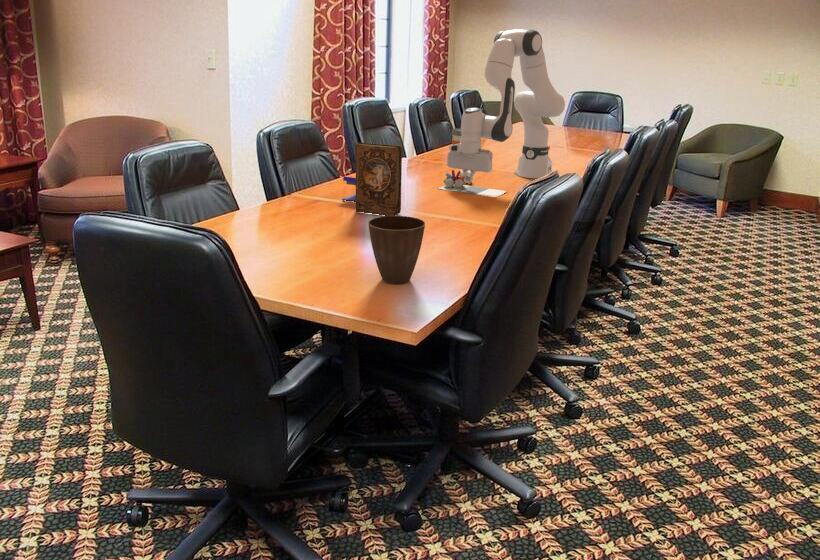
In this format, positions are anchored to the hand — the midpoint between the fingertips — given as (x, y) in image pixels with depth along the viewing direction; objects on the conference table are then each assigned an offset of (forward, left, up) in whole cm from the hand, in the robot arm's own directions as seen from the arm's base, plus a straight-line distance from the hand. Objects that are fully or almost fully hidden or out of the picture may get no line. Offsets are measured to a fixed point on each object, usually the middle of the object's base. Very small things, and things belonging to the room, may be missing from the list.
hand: (468, 180), depth 297 cm
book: (+58, -8, -4) cm, 59 cm away
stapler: (+36, -26, -5) cm, 44 cm away
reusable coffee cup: (-71, -39, -4) cm, 81 cm away
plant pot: (+115, +36, -4) cm, 121 cm away
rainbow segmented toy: (-1, -7, -4) cm, 8 cm away
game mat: (0, +2, -4) cm, 5 cm away
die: (-13, -8, -4) cm, 16 cm away
